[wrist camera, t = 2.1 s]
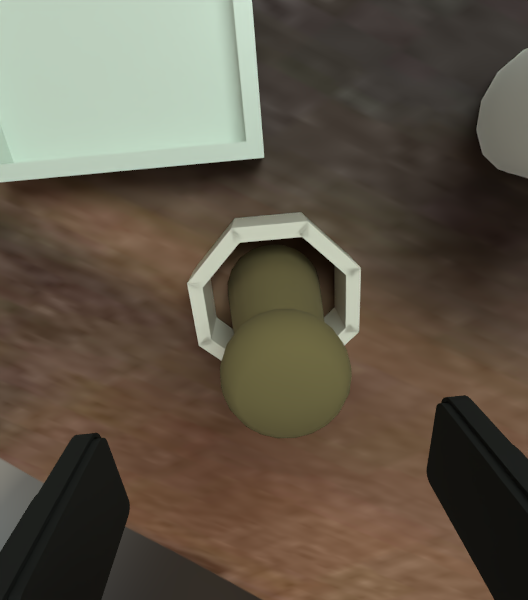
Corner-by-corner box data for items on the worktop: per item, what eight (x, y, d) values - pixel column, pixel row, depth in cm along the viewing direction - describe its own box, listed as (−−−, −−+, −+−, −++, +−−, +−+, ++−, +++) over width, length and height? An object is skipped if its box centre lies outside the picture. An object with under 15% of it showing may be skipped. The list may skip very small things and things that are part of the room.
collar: (346, 346, 24) (358, 371, 21) (211, 357, 24) (205, 384, 21) (347, 207, 20) (362, 216, 17) (188, 222, 20) (177, 232, 17)
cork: (336, 269, 22) (408, 369, 11) (291, 342, 24) (319, 482, 14) (252, 227, 20) (249, 296, 10) (212, 308, 22) (177, 432, 12)
